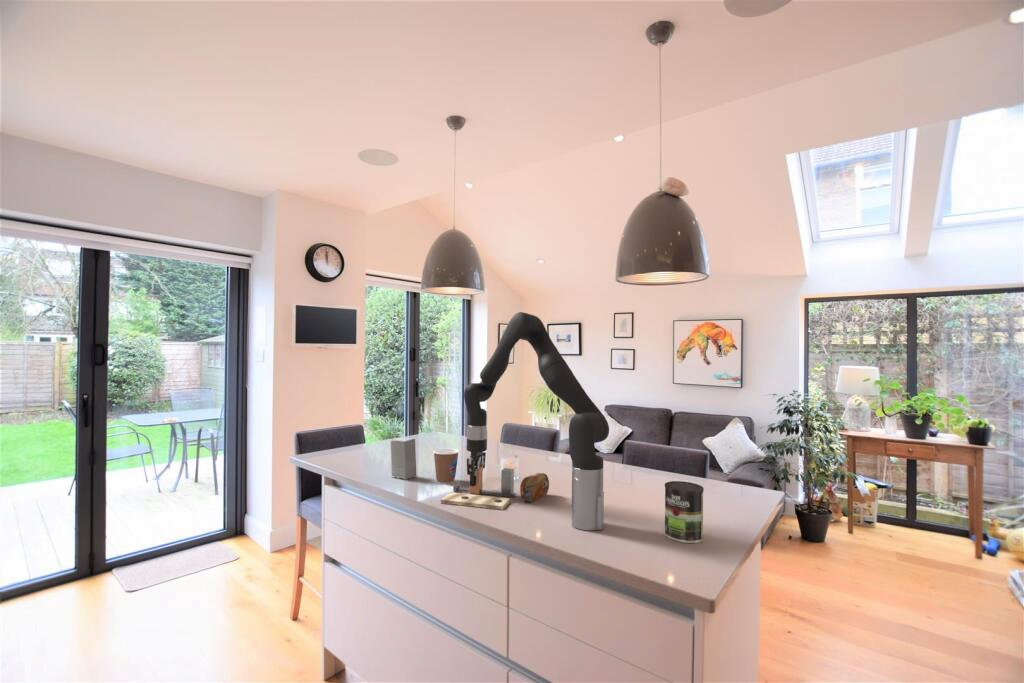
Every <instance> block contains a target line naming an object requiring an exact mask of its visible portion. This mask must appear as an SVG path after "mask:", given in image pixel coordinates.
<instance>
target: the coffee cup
mask: <svg viewBox="0 0 1024 683" xmlns="http://www.w3.org/2000/svg"><path fill="white" fill-rule="evenodd" d="M459 452H460V450H459V449H456V448H455V449H454V448H438V449H435V450H433V458H434V459H433V460H434V467H435V470H434V471H435V478H436V483H438V482H439V483H438V484H442V483H447V484H452V483H454V482H455V479H456V474H457V465H458V459H459ZM451 482H452V483H451Z"/></svg>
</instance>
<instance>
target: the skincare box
mask: <svg viewBox="0 0 1024 683" xmlns="http://www.w3.org/2000/svg"><path fill="white" fill-rule="evenodd" d="M416 451H417V450H416V438H413V437H412V438H411V437H410V438H408V437H397V438H394V439H391V440H390V459H391V460H390V464H391V465H390V466H391V477H392V476H394V477H399V478H403V479H402V480H405V479H406V480H408V478H409V479H413V478H416V477H417V459H416V458H417V457H416V456H417V455H416ZM415 476H416V477H415ZM412 477H413V478H412ZM399 478H398V479H399Z"/></svg>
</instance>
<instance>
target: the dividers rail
mask: <svg viewBox="0 0 1024 683" xmlns="http://www.w3.org/2000/svg"><path fill="white" fill-rule="evenodd" d="M500 473H501V480H500V482H501V485H500V491H495V490H488V489H487V490H486V489H482V490H480V493H481V494H480V495H487V494H490V495H489V496H497V495H498V496H497V497H501V498H508V497H510V499H511V498H516V497H517V493H516V492H515V491H514V489H515V486H514V485H515V481H514V480H515V469H514V468H505V467H504V468H503V469H501V472H500ZM452 487H453V489H452V490H453V491H454V492H453V493H458V492H457V491H460V492H459V493H467V492H470V488H466V487H461V484H460V483H456V484H455V485H454V486H452ZM515 496H516V497H515Z"/></svg>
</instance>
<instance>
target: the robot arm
mask: <svg viewBox="0 0 1024 683" xmlns="http://www.w3.org/2000/svg"><path fill="white" fill-rule="evenodd" d="M519 340H521V341H526V342H528V343H529V344H530V346H531V347H532V348H533V350H534V351H535V354H536V356H537V361H538V362H537V365H538V366H537V367H538V371H539V374H540V377H541V378H542V379H543V381H544V382H545V384H546V385H547V388H548V389H549V390H550V391H551V393H552V394H554V395H555V396H556V397H558V398H559V399H560V400H562V402H564V403H565V404H567V405H568V406H569V407H570V408H571V409H572V410H573V412H574V413H575V414H574V415H573V416H572V417H571V419H570V421H569V424H568V443H569V444H568V446H569V456H570V459H571V526H572V527H573V528H575V529H578V530H583V531H602V530H603V528H604V524H605V523H604V522H605V521H604V520H605V510H604V509H605V491H604V459H603V457H602V456H601V455H597V453H596V447H595V444H598V443H602V442H603V441H605V440H607V438H608V437H609V433H610V426H609V422H608V420H607V418H606V417H605V415H604V414H603V412H602V411H601V410H600V409H599V407H598V406H597V405H596V403H594V402H593V401H592V399H591V398H590V396H589V395H588V394H587V392H586V391H585V389H584V387H582V385H581V383H580V382H579V381H578V379H577V378H576V376H575V375H574V372H573V371H572V369H571V368H570V365H569V364H568V363H567V362H566V360H565V358H563V356H562V355H561V353H560V351H559V350H558V349H557V347H556V345H555V344H554V342H553V340H552V339H551V337H550V334H549V333H548V331H547V329H546V326H545V325H544V323H543V321H542V320H541V319H540V318H539V316H536V315H534V314H531V313H526V312H522V311H521V312H520V311H519V312H517V313H515V314H514V315H513V316H512V317H511V318H510V320H509V321H508V323H507V326H506V328H505V329H504V331H503V334H502V335H501V338H500V339H499V342H498V344H497V346H496V348H495V350H494V352H493V353H492V355H491V357H490V359H489V360H488V361H487V363H486V364H485V365H484V367H483V368H482V370H481V371H480V374H479V378H480V379H481V381H480V382H475V383H473V382H471V383H469V384H467V385H466V387H465V388H464V393H463V398H464V403H465V409H466V411H467V428H466V451H468V452H470V454H469V455H470V456H469V458H468V457H467V458H466V475H468V476H469V487H470V486H476V474H477V470H478V469H479V466H483V469H485V468H486V454H487V452H486V451H487V450H488V413H487V410H486V409H483V408H482V406H481V403H484V402H486V401H488V400H489V399H490V398H492V395H493V394H494V391H495V388H496V387H497V383H498V382H499V380H500V379H501V378H502V376H503V375H504V374H505V372H506V370H507V369H508V367H509V363H510V357H511V352H512V350H513V349H514V346H515V345H516V344H517V343H518V342H519ZM475 466H476V467H475Z"/></svg>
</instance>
